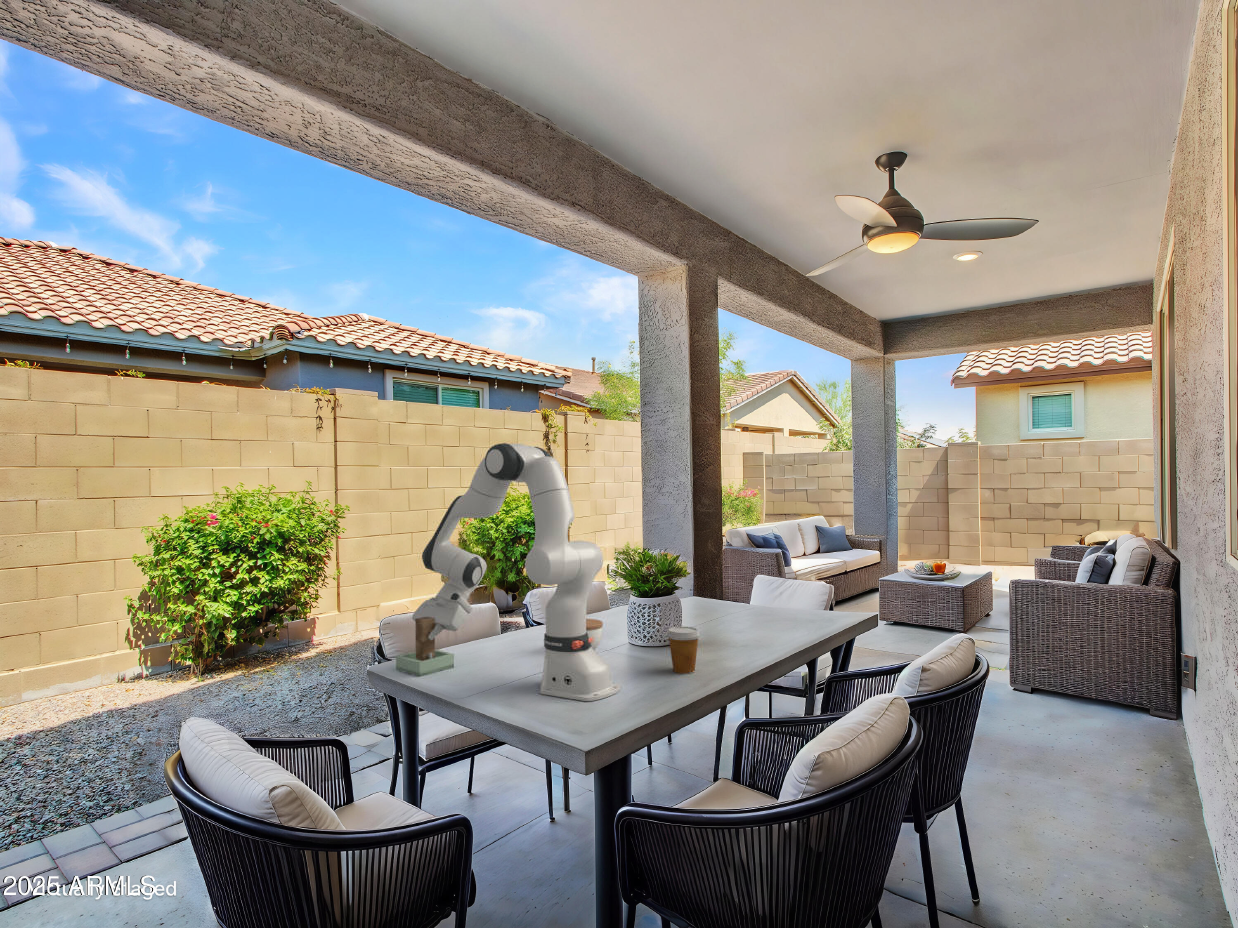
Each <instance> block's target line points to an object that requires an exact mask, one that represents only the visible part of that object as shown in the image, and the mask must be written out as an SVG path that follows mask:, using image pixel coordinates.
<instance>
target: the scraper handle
mask: <svg viewBox="0 0 1238 928" xmlns="http://www.w3.org/2000/svg"><path fill="white" fill-rule="evenodd" d="M434 620H435V618H431V617H423V618H417V619H415V621H414V622H415V652H416V659H417V660H421V661H424V660H428V659H432V658H435V650H436V642H435V641H436V636H435V637H434V639H433V640H429V639H428V638H426V636H427V635H428V633H429V632H431V631H432V630H434V629H435V623H434Z"/></svg>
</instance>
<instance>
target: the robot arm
mask: <svg viewBox="0 0 1238 928" xmlns="http://www.w3.org/2000/svg"><path fill="white" fill-rule="evenodd" d="M474 472H475V473H474V475H473V477H472V479H471V482H470V485H469V488H468V489H467V491H466V492H465V493H464V494H462V495H458V496H456V497H455V498H454V500H453V501H452V502H451V504H450V505H449V506H448V508H447V510H446V512H445V514H444V515H443V517H442V519H441V521H440V523H439V524H438V527H437V528H436V530H435V532H434V533H433V535H432V537H431V539H430V540H429V541H428V542H427V544H426V546H425V547H424V549H423V552H422V553H421V559H422V562H423V563H422V564H423V565H424V567H425V569H427V570H430V571H432V572H434V573H438V574H439V575H441V576H444V577H446V578H448V579H449V580H447V581H446V582H445V583H444V584H443V585H442V587H441V588H440V590H439V591H438V593H437V594H436V595H435V596H434V597H433V596H432V597H431V598H429V599H427V600H424V601H423V602H422V603H421V604H420V605H419V607H418V608H416V610H415V611H414V612H413V614H412V616H411V619H412V620H413V621H414V622H415V619H417V618H423V617H431V618H435V620H434V623H435V629H434V630H432V631H431V632H429V633H428V635H427V636H426V638H428V639H429V640H433V639H434V637H435V638H436V636H438V635H440V633H442V632H443V630H445V631H450V632H456V631H458V630H459V629H460V628H461V626H463V624H464V622H465V621H466V619H467V618H468V615H469V614H471V612H472V611H473V610H474V608H473V607H472V605H471V604H470V603H469V602H468V600H469V597H470V595H471V594H472V593H473V592H474V591H475V590H476V589H477V587H478V586H479V584H480V582H481V580H482V579H483V577H484V575H485V573H486V571H487V568H488V565H487V563H486V561H485V560H484V558H483V557H482V556H481V555H478V554H475V553H471V552H469V551H467V550H465V549H463V548H460V547H459V546H456V545H454V544H453V543H451V541H450V538H451V536H452V535H453V533H454V532H455V530H456V527H457V526H458V524H459V522H460V520H461V519H465V518H467V519H468V518H469V519H485V518H486V519H487V518H490V517H492V516H495V515H496V514H498V512H499V511H500V510H501V509H502V506H503V503H504V501H505V499H506V495H507V493H508V490H509V486H510V484H511V483H513V482H514V483H515V482H516V483H525V484H526V486H527V489H528V494H529V499H530V502H531V503H530V504H531V507H532V513H533V518H534V524H535V534H534V541H533V545H532V547H531V549H530V551H529V552H528V554H527V555H526V558H525V562H524V568H525V573H526V575H527V577H528V579H529V580H530V581H531V582H533V583H534V584H538V585H543V586H545V585H546V586H555V585H557V586H556V589H555V591H554V593H553V595H552V596H551V598H550V599H549V600H548V601H547V603H546V605H545V632H544V636H543V637H544V639H543V647H544V648H545V655H544V659H543V660H544V661H543V668H542V669H543V670H542V676H541V680H540V684H539V687H540V691H539V693H540V694H542V695H548V696H553V697H560V698H564V699H565V698H566V699H571V700H577V701H582V702H583V701H584V702H591V701H592V702H593V701H598V700H601V699H606V698H608V697H611V696H613V695H615V694H617V693H618V692H619V691H621V684H619V683H617V682H615V681H613V679H612V672H611V668H610V666H609V664H608V663H607V662H606V661H605V660H604V659H603V658H602V657H601V656H600V655H599V654H598V653H597V652H596V650H593V649H592V648H591V642H594V641H591V640H592V639H594V637H593V638H589V636H588V633H587V632H586V619H587V607H588V606H587V604H588V599H589V594H590V590H591V588H592V585H593V582H594V580H595V578H596V576H597V575H598V574H599V572H600V571H601V569H602V567H603V564H604V555H603V552H602V550H601V548H600V547H599V545H598V544H596V543H595V542H590V541H587V540H573V541H569V538H568V533H569V528H570V525H571V524H572V523H573V521H575V520H574V519H575V512H574V511H575V510H574V506H573V503H572V499H571V498H572V497H571V494H570V490H569V486H568V482H567V479H566V477H565V474H564V472H563V469H562V467H561V465H560V463H559V461H558V460H557V459H556V458H554V457H552V456H551V454H550V453H549V451H547V450H545V449H543V448H542V447H538V446H531V445H526V444H521V443H506V442H502V443H496V444H494V445H492V446H491V447H489V449H488V450H487V451H486V454H485V456H484V457H483V459H482V460H481V461H480V463H479V465H478V466H477V469H476V470H475V471H474Z"/></svg>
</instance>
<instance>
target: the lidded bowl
mask: <svg viewBox="0 0 1238 928" xmlns="http://www.w3.org/2000/svg"><path fill="white" fill-rule="evenodd" d="M603 625H604V623H603V621H602V620H599V619H597V618H596V619H595V618H586V632H587V633H588V636H589V638H593V637H594V639H592V640H591V641H594V642H591V648H592V649H593V650H594V651H596V648H597V647H598V646H600V645H599V644H601V640H602V637H603Z"/></svg>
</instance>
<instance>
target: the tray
mask: <svg viewBox="0 0 1238 928" xmlns="http://www.w3.org/2000/svg"><path fill="white" fill-rule="evenodd" d="M454 654H455V653H451V652H449V651H448V652H447V651H443V650H439V649H435V658H432V659H428V660H424V661H421V660H417V659H416V651H413V652H409V653H405V654H399V655H396V656H395V670H397V671H400V672H402V671H403V672H402V673H406V674H410V675H412V674H413V676H417V677H424V676H427V675H430V674H436V673H438V672H437V671H439V672H441V671H440V670H442V671H444V670H443V669H446V670H449V669H448V668H450V669H452V668H451V667H453V668H455V661H454V660H455V655H454Z"/></svg>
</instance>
